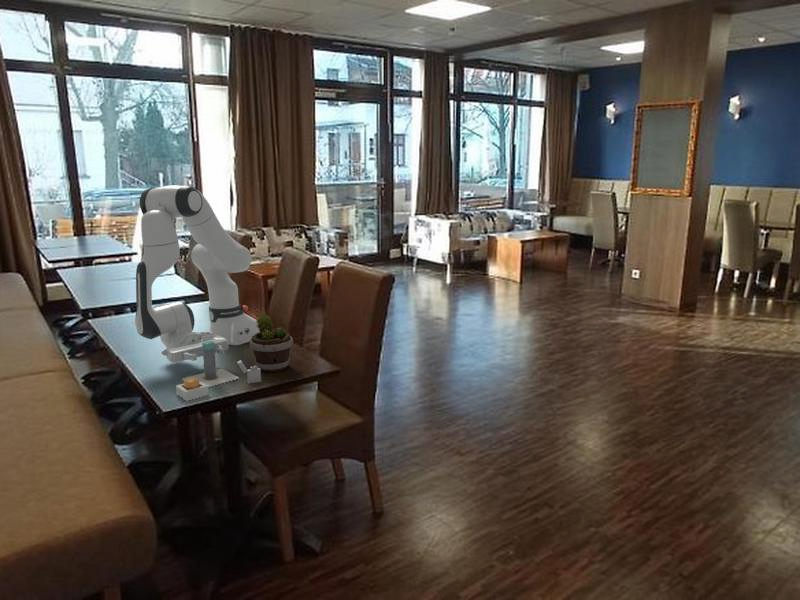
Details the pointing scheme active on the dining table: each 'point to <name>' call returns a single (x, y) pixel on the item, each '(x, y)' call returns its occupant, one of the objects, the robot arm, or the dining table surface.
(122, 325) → the dining table surface
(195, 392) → the button box
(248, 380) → the lighter
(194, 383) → the button
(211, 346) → the grey teal bottle
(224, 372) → the paper pad
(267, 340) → the flowerpot
